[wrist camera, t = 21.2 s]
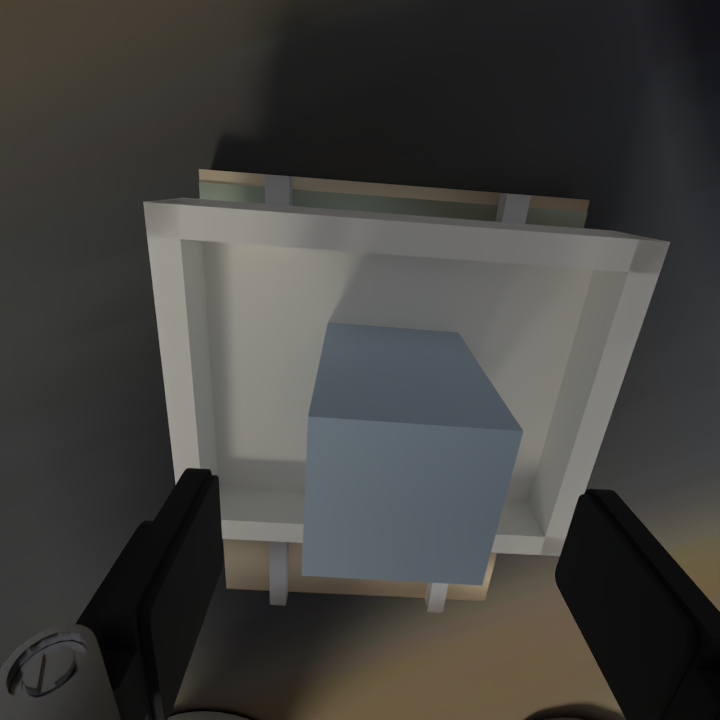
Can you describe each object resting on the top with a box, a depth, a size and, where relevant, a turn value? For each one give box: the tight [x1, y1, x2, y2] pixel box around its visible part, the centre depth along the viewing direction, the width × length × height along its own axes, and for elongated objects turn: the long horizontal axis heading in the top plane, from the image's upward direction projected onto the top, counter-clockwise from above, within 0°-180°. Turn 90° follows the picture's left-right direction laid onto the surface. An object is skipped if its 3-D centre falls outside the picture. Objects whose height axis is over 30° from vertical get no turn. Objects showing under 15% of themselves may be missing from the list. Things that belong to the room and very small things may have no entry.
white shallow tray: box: [143, 198, 670, 556], centre depth 18 cm, size 13×16×5 cm
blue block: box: [302, 323, 523, 586], centre depth 14 cm, size 5×5×7 cm
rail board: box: [199, 169, 590, 613], centre depth 24 cm, size 25×17×2 cm
